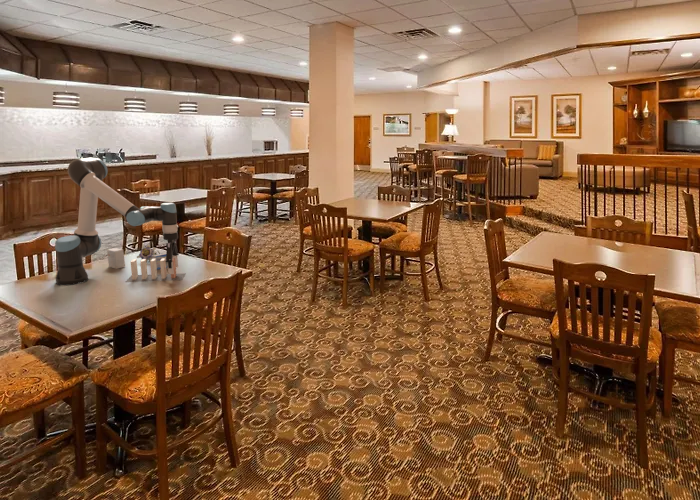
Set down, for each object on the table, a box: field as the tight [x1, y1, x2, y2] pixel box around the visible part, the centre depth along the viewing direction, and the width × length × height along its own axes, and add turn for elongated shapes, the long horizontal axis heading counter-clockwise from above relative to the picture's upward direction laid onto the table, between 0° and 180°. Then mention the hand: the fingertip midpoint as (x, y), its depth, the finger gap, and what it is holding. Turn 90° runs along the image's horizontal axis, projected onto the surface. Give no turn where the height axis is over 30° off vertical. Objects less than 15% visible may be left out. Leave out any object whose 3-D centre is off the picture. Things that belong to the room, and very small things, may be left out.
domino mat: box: [125, 273, 187, 283], centre depth 274 cm, size 29×13×1 cm, turn 99°
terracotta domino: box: [171, 258, 177, 278], centre depth 274 cm, size 2×5×10 cm, turn 9°
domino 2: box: [140, 258, 149, 279], centre depth 272 cm, size 2×5×10 cm, turn 9°
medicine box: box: [151, 252, 168, 271], centre depth 292 cm, size 8×4×9 cm, turn 143°
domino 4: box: [160, 258, 168, 279], centre depth 274 cm, size 2×5×10 cm, turn 9°
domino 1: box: [130, 258, 139, 280], centre depth 271 cm, size 2×5×10 cm, turn 9°
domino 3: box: [149, 259, 158, 279], centre depth 273 cm, size 2×5×10 cm, turn 9°
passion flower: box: [136, 245, 161, 264], centre depth 309 cm, size 11×11×12 cm
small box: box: [106, 247, 126, 270], centre depth 296 cm, size 8×6×10 cm
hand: (173, 270), depth 275 cm, fingers open, 13 cm apart
